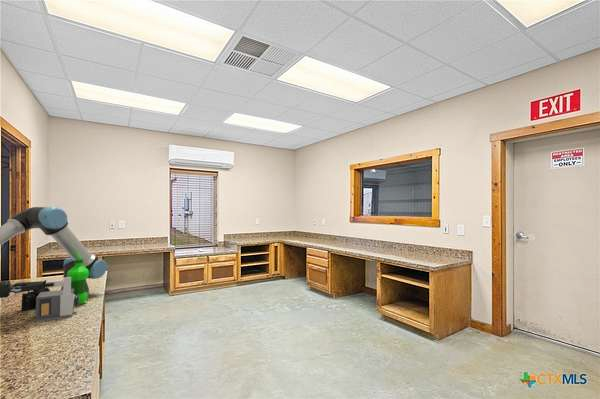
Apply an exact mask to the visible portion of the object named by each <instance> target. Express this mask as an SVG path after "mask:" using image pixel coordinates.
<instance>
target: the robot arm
mask: <svg viewBox="0 0 600 399" xmlns="http://www.w3.org/2000/svg"><path fill="white" fill-rule="evenodd" d="M68 226H69V222H68V214H67V213H66V211H65V210H64V209H62V208H60V207H57V206H34V207H29V208H27V209H24V210H22V211H20V212H19V213H16V214H15V215H13V216H12V217H10V218H8V219H7V222H5V223H4V224H2V225H1V226H0V246H2V245H3V244H5V243H6V242H8V241H10V240H11V239H13V238H14V237H16V236H17V235H19V234H24V233H26V232H28V231H29V230H32V229H40V230H41V231H42V232H43V233H44V234H45V236H51V237H52V238H53V240H54V241H55V242H56V243H57V244H58V246H60V248H61V249H62V250H63V251H64V252H65V253H66V254H67V255H68V256H69V257H68V258H65V259H64V260H63V264H62V266H63V269H62V270H63V271H62V272H63V275H62V276H63V278H66V277H67V273H68V271H69V270H70V269H72V268H73V267H74V266H75V263H74V260H76V259H83V263H82V266H84V267H85V268H87V269H88V271H89V276H88V278H87V279H89V280H90V279H91V280H97V279H100V278H102V277H103V276H104V275H105V274H106V273H107V272H106V271H107V268H108V263H107V262H106V261H105V260H104V259H102V258H101V259H100V258H99V257H97V255H96V254H95V253H90V252H89V250H88V249H87V248H86V247H85V245H83V243H82V241H81V240H79V239H78V237H77V236H76V234H74V232H73V231H72V230H71V229H70V227H68ZM45 287H46V288H49V289H50V288H57V287H61V288H60V290H63V279H62V280H51V281H47V280H46V279H45V280H42V281H40V280H39V281H27V282H25V281H24V282H23V281H22V282H15V283H14V284H11V281H10V280H0V299H4V298H8V297H10V294H11V293H13V294H19V293H27V292H28V291H29V292H31V291H33V290H40V289H43V290H45ZM86 292H87V294H88V293H89V292H90V288H89V285H88V282H87V281H86Z"/></svg>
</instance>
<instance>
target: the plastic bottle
mask: <svg viewBox="0 0 600 399" xmlns="http://www.w3.org/2000/svg"><path fill="white" fill-rule="evenodd" d="M74 263H75V266H74V267H73V268H72V269H70V270H69V271H68V273H67V277H71V289H74V294H75V296H77V295H79V305H78V306H80V305H83V304H84V303H85V302H86V301H87V300H88V295H89V294H88V293H87V292H86V282H87V279H89V278H88V276H89V271H88V269H87V268H85V267H84V266H82V263H83V259H76V260H74Z"/></svg>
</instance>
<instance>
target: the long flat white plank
mask: <svg viewBox="0 0 600 399" xmlns="http://www.w3.org/2000/svg"><path fill="white" fill-rule="evenodd" d="M62 280H63V295H61V296H60V316H65V315H72V316H73V314H74V310H73V294H71V277H66V278H63V279H62Z"/></svg>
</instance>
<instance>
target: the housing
mask: <svg viewBox="0 0 600 399" xmlns="http://www.w3.org/2000/svg"><path fill="white" fill-rule="evenodd" d="M71 294H73V311H74V309H75V307H76V306H80V305H79V295H77V296H75V294H74V289H71ZM61 295H63V290H61V289H59V290H50V291H48V292H40V294H39V295H38V296H37V298H36V308H35V323H36V322H37V323H39V322H45V321H50V320H57V319H63V318H65V319H66V318H71V317H72V316H73V314H72V315H65V316H60V296H61Z"/></svg>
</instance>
